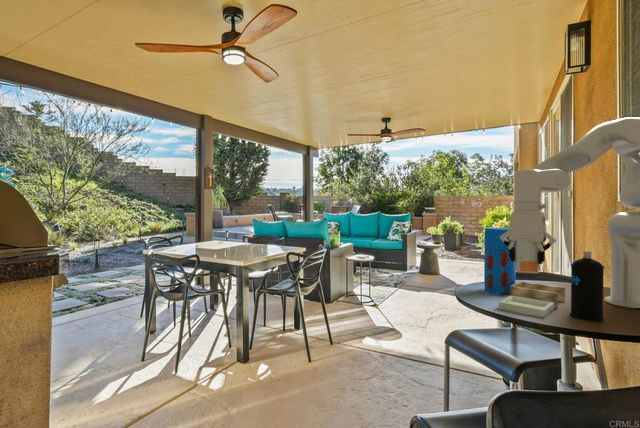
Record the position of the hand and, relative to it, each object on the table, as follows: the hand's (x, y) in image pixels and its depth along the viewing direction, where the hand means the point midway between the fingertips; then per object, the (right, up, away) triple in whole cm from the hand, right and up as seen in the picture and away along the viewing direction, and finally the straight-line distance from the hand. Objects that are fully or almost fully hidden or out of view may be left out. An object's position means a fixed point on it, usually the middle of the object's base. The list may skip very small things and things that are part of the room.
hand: (526, 261), depth 113 cm
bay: (+10, -15, +10) cm, 21 cm away
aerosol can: (+13, -16, -8) cm, 22 cm away
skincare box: (0, -4, 0) cm, 4 cm away
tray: (0, -16, 0) cm, 16 cm away
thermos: (+3, -15, +23) cm, 28 cm away
